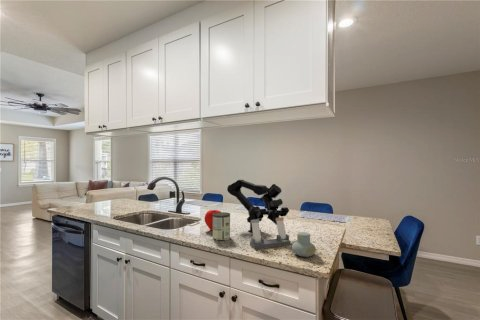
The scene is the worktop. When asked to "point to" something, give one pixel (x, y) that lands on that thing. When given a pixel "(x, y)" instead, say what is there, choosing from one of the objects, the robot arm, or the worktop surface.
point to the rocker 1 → (256, 230)
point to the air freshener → (303, 245)
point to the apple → (210, 218)
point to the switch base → (270, 242)
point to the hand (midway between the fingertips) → (278, 225)
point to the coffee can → (221, 226)
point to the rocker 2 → (281, 227)
